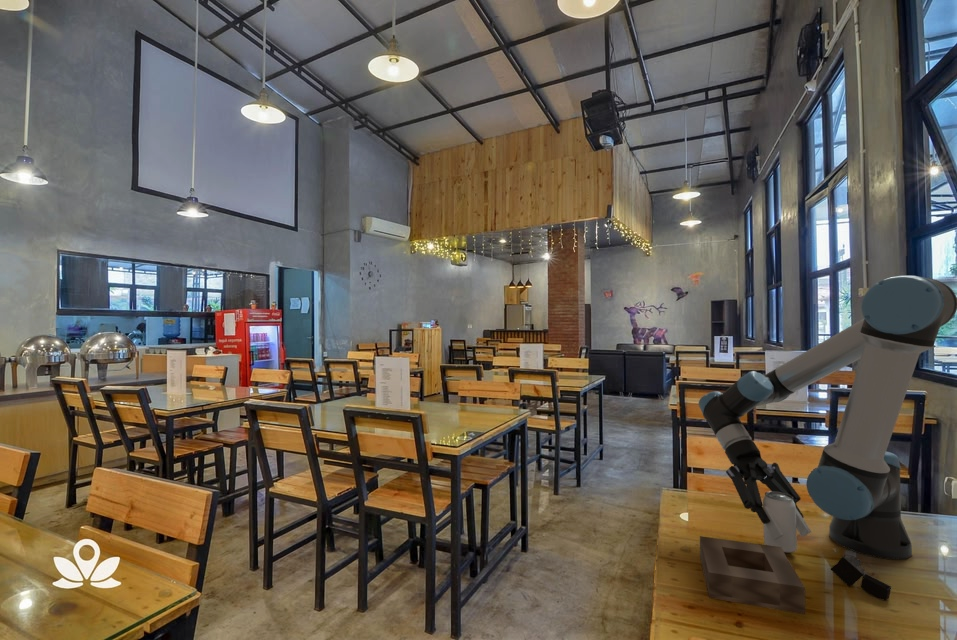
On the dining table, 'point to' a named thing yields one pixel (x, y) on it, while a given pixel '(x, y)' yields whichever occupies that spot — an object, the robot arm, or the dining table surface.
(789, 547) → the can
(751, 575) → the socket block
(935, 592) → the dining table surface
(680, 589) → the dining table surface
